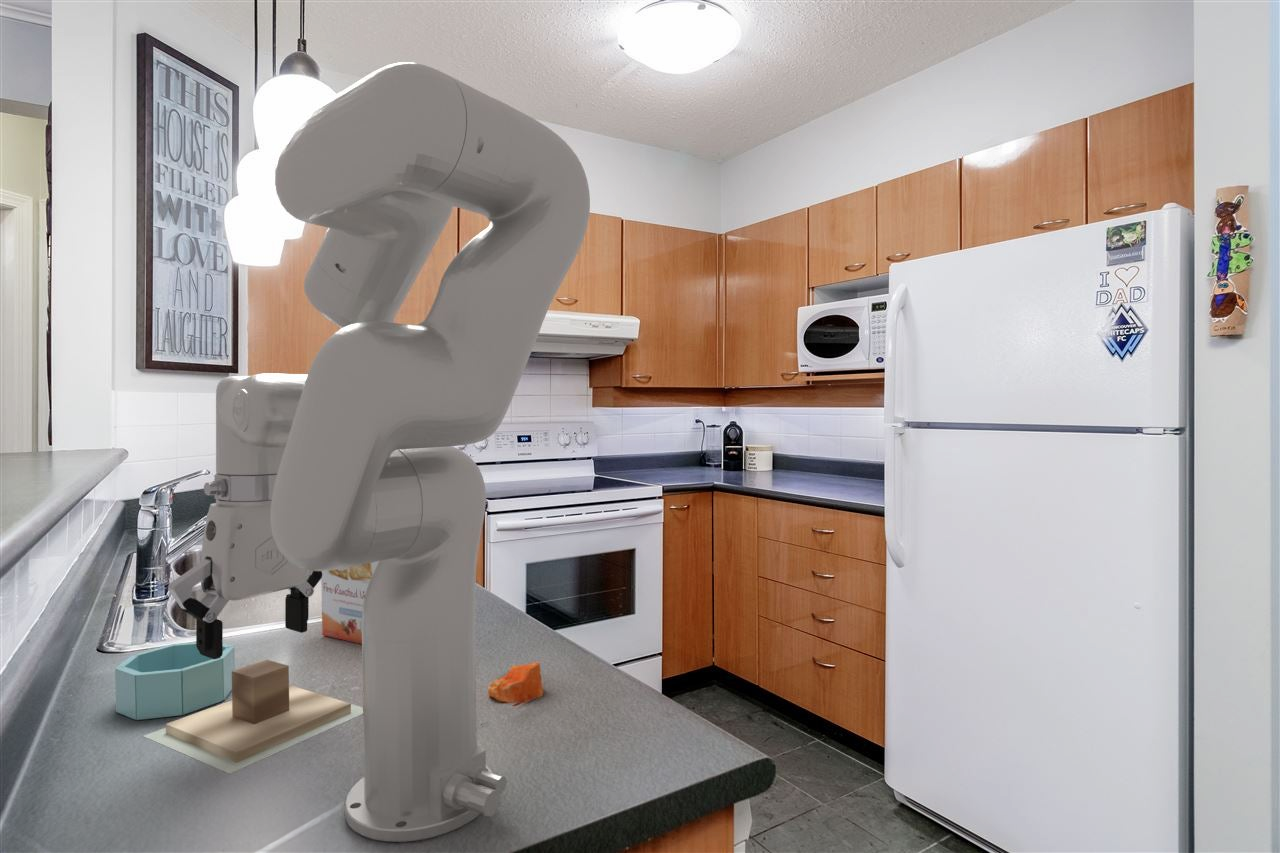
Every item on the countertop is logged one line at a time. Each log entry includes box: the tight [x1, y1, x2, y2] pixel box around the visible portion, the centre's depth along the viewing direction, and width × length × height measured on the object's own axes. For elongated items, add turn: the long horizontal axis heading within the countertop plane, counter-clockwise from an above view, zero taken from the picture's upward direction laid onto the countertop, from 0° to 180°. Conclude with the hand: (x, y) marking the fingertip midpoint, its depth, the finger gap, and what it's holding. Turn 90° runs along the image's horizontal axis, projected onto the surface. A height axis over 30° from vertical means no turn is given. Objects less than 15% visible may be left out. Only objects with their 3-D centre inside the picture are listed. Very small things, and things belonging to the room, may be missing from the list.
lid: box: [165, 659, 351, 763], centre depth 76 cm, size 13×13×6 cm
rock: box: [487, 661, 544, 707], centre depth 84 cm, size 12×12×4 cm
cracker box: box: [320, 561, 379, 645], centre depth 106 cm, size 14×6×21 cm, turn 62°
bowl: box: [114, 641, 236, 721], centre depth 83 cm, size 11×11×6 cm
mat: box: [142, 703, 363, 775], centre depth 76 cm, size 16×16×1 cm
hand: (255, 642), depth 77 cm, fingers open, 9 cm apart
